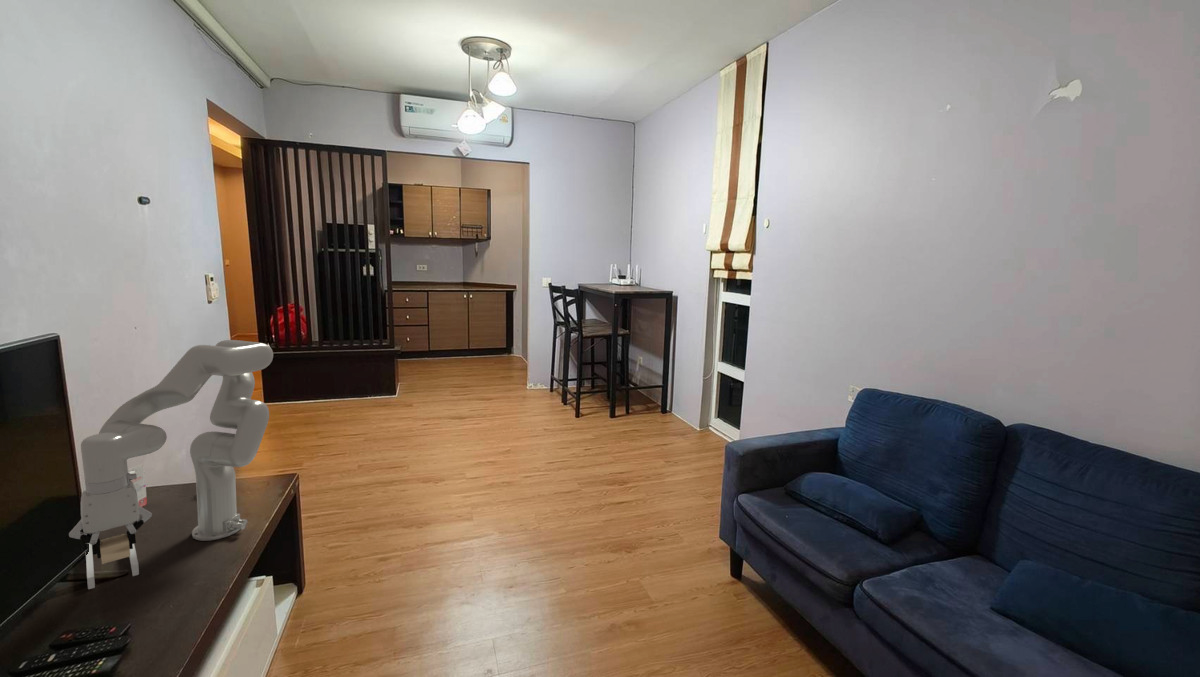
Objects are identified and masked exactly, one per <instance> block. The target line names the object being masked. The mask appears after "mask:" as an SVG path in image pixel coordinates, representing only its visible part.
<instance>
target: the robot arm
mask: <svg viewBox="0 0 1200 677" xmlns="http://www.w3.org/2000/svg"><path fill="white" fill-rule="evenodd" d="M273 358H274V351H273V349H272V348H271V347H270V345H268V344H267V343H265V342H264V343H263V342H259V341H257V342H256V341H245V340H237V339H226V340H225V339H224V340H221V341H218V342H217V343H216V344H215V345H210V344H207V345H206V344H200V345H195V346H192V347H190V348H189V349H188V350H187V352H185V354H183V356H182V357H181V358H180V359H179V360H178V361H177V362H176V364H175V365H174V366H173V367H172V369H171V370H170V371H169V372H168V373H167V374H166V375H165V376H164V377H163V378H162V380H161V381H160V382H159V383H157V385H155V386H153V387H152V388H149V389H147V390H145V391H143V392H141V393H139V394H138V395H136V396H134V397H132V398H131V399H128V400H127V401H126V402H124V403H123V404H122V405H120V407H118V408H117V409H116V410H115V411H114V412H113V414H111V415H110V417H109V418H108V419H107V420H106V421H105V423H104V424H103V425H102V427H101V428H100V430H99V432H98V433H96V434H92V435H89V436H87V437H85V438H84V439H82V441H81V442H80V451H81V460H82V467H83V468H82V469H83V476H84V484H85V485H84V486H85V490H84V491H82V492H81V497H80V520H79V521H78V522H77V524H76V525H75V526H74V527H73V528H72V529H71V530H70V531H69V532H68V536H69V537H68V538H72V539H76V540H80V541H83V542H86V543H87V544H89V543H90V544H91V545H92V553H93V556H95V555H97V556H96V557H97V559H101V551H100V540H101V539H100V538H99V537H100V532H104V531H108V530H112V529H116V528H120V527H123V526H125V527H126V529H127V531H126V533H127V536H128V540H129V548H130V549H133V545H132V544H134V545H135V544H137V541H136V533H137V531H138V530H139V529H140V528H141V527H142V526H143V525H144V524H145V523H146V522H148V520H149V519H151V518H152V516H153V513H152V511H149V510H148V509H146V508H144V507H140V506H139V504H138V498H137V493H136V489H135V486H134V484H133V482H131V480H133V479H136V478H137V476H136V473H135V474H130V473H128V469H129V468H128V459H132V458H137V457H141V456H146V455H149V454H153V453H154V452H157V451H158V450H160V449H162V447H163V446H164V445H165V443H166V441H167V438H168V436H167V433H166V430H165V429H163V428H162V427H160V426H158V425H155V424H154V425H153V424H149V423H148V424H147V423H142V422H144V421H145V420H146V419H147V418H149V417H150V416H152V415H154V414H156V413H158V412H160V411H163V410H167V409H169V408H173V407H177V406H180V405H183V404H187V403H189V402H191V401H192V400H193V399H194V398H195V397H196V395H197V394H198V393H199V392H200V390H201V389H202V388H203V387H204V385H205V384H206V383H207V382H208V381H209V379H210V378H211V377H212V376H218V377H219V376H220V377H222V382H221V385H220V388H219V391H218V393H217V396H216V398H215V400H214V403H213V405H212V407H211V411H210V414H209V422H210V423H211V424H212V425H214V426H216V427H217V428H218V427H219V428H223V429H231V430H236V432H235V433H230V432H223V431H205V432H203V433H201V434H199V435H197V436H196V437H194V438H193V441H192V442H191V444H190V448H189V453H190V458H191V462H192V464H193V469H194V473H195V474H194V475H195V485H196V487H195V488H196V489H195V490H196V507H197V511H196V512H197V525H196V526H195V527H194V528H193V529H192V531H191V537H192V539H195V540H197V541H203V542H206V541H216V540H221V539H223V538H228V537H230V536H232V535H234V534H236V533H238V532H239V531H242V530H243V531H244V529H246V525H247V523H248V520H247V519H245V518H244V519H242V518H241V513H237V512H238V510H237V489H236V488H237V486H236V483H237V482H236V480H237V479H236V471H235V468H242V467H245V466H247V465H249V464H251V462H252V461H253V460H254V459H255V457H256V455H257V453H258V451H259V448H260V446H261V443H262V440H263V438H264V435H265V432H266V429H267V427H268V423H269V419H270V410H269V407H268V405H267V404H266V403H265V402H263V401H261V400H257V399H252V396H253V393H254V389H255V384H256V381H255V377H254V373H253V372H258V371H262V370H264V369H266V368H267V367H268V366H270V365H271V363H272V362H273ZM82 531H83V532H82Z"/></svg>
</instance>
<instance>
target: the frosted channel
mask: <svg viewBox="0 0 1200 677" xmlns="http://www.w3.org/2000/svg"><path fill="white" fill-rule="evenodd" d="M88 544H89V552H88V554H87V555H86V554H85V561H86V563H85V564H86V580H87V589H88V590H91V589H95V587H96V586H95V585H96V583H95V570H94V557H93V556H94V555H93V550H92V545H91V544H90V543H88ZM132 545H133V549H130V556H129V557H128V558H129V563H130V568H131V572H132V573H131V574H132V577H135V576H138V575H139V574H140V570H139V569H140V568H139V560H138V556H137V551H136V546H135V544H132ZM139 576H140V575H139Z"/></svg>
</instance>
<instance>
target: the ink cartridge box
mask: <svg viewBox="0 0 1200 677" xmlns="http://www.w3.org/2000/svg"><path fill="white" fill-rule="evenodd" d="M128 473H130V474H135V473H136V476H137V478H136V479H133V480H131V482H133V484H134V486H135V489H136V493H137V498H138V504H139V506H140V507H142V508H144V507H145V506H147V505H148V497H147V487H146V486H147V485H146V474H145V468H144V464H143V463H140V464H138V465H135V466H133V467H130V468H128Z"/></svg>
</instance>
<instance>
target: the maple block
mask: <svg viewBox="0 0 1200 677" xmlns="http://www.w3.org/2000/svg"><path fill="white" fill-rule="evenodd" d="M100 551H101V558H100V559H101V565H104V564H107V563H111V562H112V563H113V562H115V561H118V560H122V559H125V558H129V556H130V548H129V540H128V536H127V532H125V533H122V534H117V535H114V536H110V537H106V538H103V539H102V538H101V539H100Z"/></svg>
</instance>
